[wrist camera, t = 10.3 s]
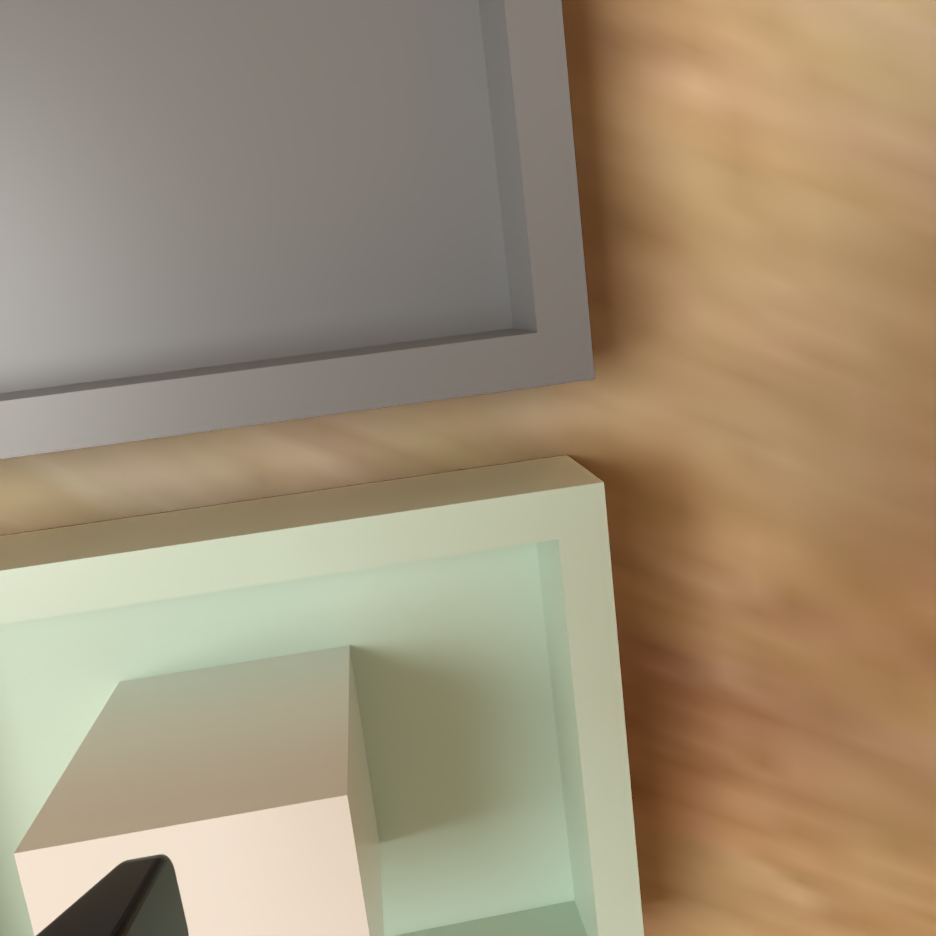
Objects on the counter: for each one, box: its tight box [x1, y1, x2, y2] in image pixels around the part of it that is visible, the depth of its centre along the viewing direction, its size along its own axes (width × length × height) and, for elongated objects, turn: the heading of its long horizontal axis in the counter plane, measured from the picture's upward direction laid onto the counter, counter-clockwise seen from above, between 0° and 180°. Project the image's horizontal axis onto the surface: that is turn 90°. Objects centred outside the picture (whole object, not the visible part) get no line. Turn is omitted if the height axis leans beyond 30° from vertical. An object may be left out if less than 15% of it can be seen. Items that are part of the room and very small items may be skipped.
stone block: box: [14, 645, 384, 936], centre depth 17 cm, size 5×5×6 cm
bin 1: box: [0, 0, 595, 459], centre depth 16 cm, size 16×12×3 cm
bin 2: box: [0, 455, 644, 936], centre depth 19 cm, size 16×12×3 cm
